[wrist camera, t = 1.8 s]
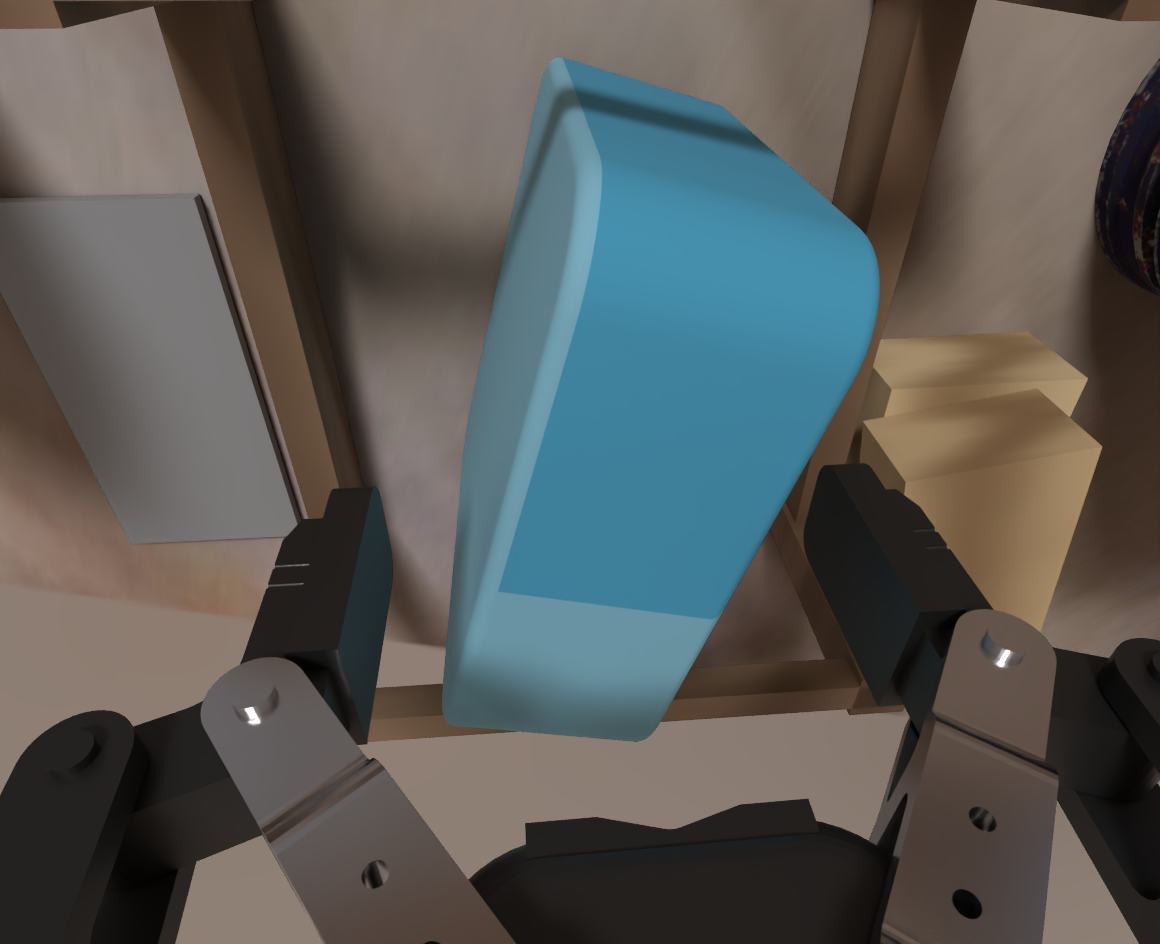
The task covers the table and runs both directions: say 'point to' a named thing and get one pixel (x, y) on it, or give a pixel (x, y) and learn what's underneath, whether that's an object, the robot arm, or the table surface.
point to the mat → (147, 362)
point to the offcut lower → (962, 375)
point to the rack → (301, 343)
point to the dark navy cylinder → (1133, 189)
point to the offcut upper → (993, 488)
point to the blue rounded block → (638, 401)
